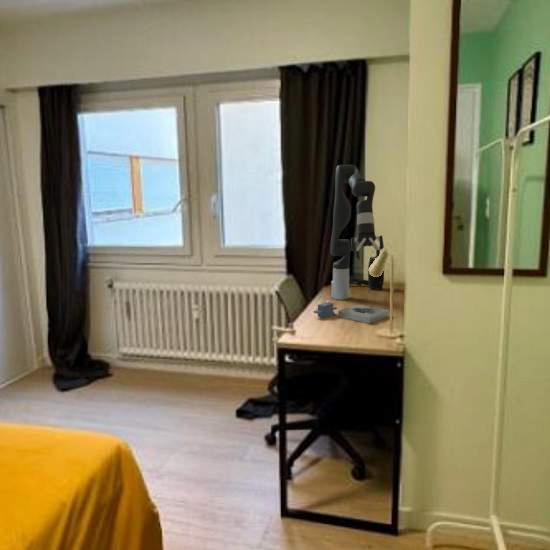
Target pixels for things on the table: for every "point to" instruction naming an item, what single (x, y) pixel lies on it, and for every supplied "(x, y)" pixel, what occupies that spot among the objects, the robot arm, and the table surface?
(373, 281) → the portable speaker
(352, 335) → the table surface
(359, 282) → the adjustable wrench
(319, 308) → the servo
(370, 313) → the chassis
